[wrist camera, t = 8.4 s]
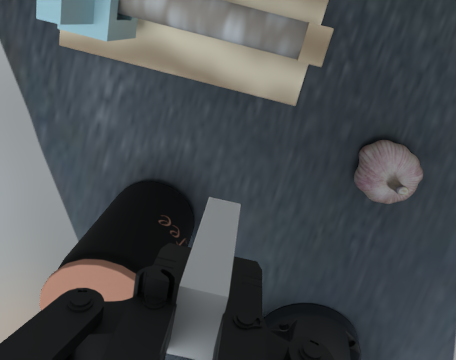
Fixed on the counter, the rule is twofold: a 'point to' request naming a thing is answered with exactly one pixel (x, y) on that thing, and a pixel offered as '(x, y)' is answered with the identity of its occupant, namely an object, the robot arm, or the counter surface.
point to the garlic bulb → (387, 172)
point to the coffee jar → (123, 243)
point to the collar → (88, 18)
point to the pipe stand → (222, 42)
